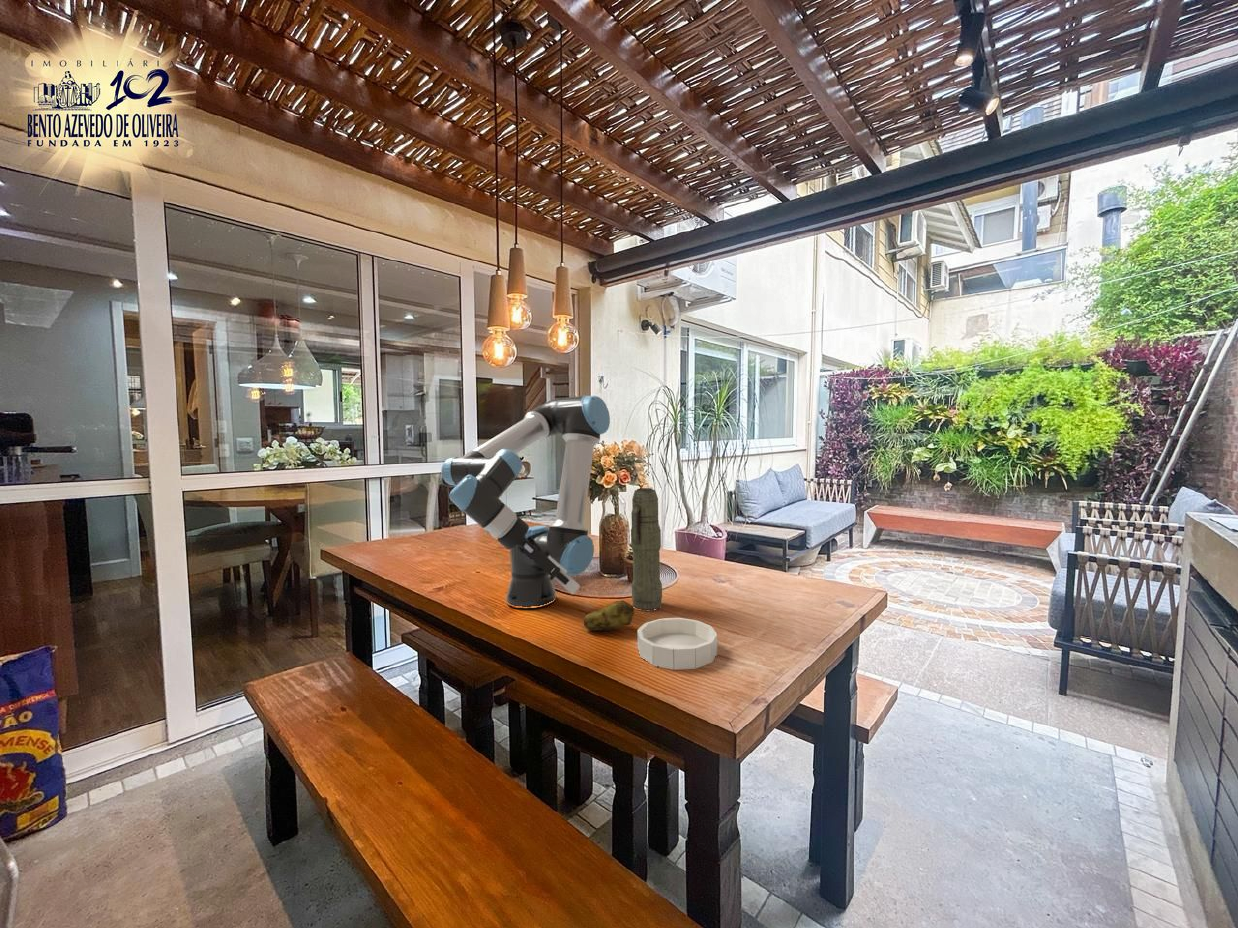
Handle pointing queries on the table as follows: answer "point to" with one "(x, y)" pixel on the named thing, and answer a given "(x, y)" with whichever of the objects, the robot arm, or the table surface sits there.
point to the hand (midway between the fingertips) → (569, 582)
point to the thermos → (646, 550)
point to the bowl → (677, 643)
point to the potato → (610, 616)
